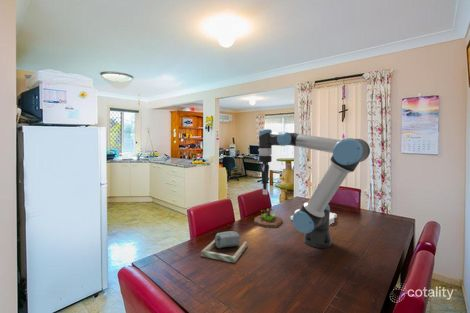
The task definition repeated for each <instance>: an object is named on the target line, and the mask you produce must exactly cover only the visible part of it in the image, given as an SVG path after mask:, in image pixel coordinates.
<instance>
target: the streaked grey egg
mask: <svg viewBox="0 0 470 313" xmlns="http://www.w3.org/2000/svg"><path fill="white" fill-rule="evenodd" d="M214 239H215V244H216V246H215V247H216V248H218V249H221V248H230V247H232V248H233V247H238V246H239V245H240V234H239V233H238V232H237V231H233V230H232V231H231V230H229V231H222V232H217V233H216V234H215V237H214Z"/></svg>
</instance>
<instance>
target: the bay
mask: <svg viewBox="0 0 470 313" xmlns="http://www.w3.org/2000/svg"><path fill="white" fill-rule="evenodd" d="M215 247H217V246H216V244H215V238H214V239H213V240H212V241H211V242H210V243H209V244H207V245H206V246H205V247H204V248H203V249H202V250H201V251H200V252H201V253H200V255H201V256H200V257H204V258H209V259H214V260H217V261H224V262H228V263H234V264H235V263H237V261H238V259H239V258H240V257H241V255H242V254H243V253H244V251H245V250H246V249H247V248H248V241H243V243H242V244H241V245H240V247H239V248H238V249H237V250H236V252H235V253H234V254H233V255H231V254H230V255H229V254H225V253H221V252H215V251H212V250H213V249H214V248H215Z"/></svg>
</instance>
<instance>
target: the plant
mask: <svg viewBox="0 0 470 313" xmlns="http://www.w3.org/2000/svg"><path fill="white" fill-rule="evenodd" d="M260 211H261V215H257V216H255V217H254V221H253V224H254V225H256V226H258V227H261V226H262V227H261V228H267V227H269V228H271V227H272V229H273V228H274V229H276V228H278V227H279V226H280V225H282V224H284V222H283V219H282V218H281V217H280V216H275V215H276V214H275V213H274V214H272V213H271V212H273V209H272V208H269V207H268V208H266V210H265V209H261V210H260ZM262 212H264V213H262Z"/></svg>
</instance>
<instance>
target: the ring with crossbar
mask: <svg viewBox="0 0 470 313" xmlns="http://www.w3.org/2000/svg"><path fill="white" fill-rule="evenodd" d="M300 209H301V208H298V209H296V210H294V214H295V213H296V212H297V211H299V210H300ZM293 216H294V215H290V220H292V221H293ZM337 216H338V214H336V213H334V212H331V211H330V217H329V226H331V225H330V224H332V223H334V224H335V219H336V218H338V217H337ZM332 225H333V224H332Z"/></svg>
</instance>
